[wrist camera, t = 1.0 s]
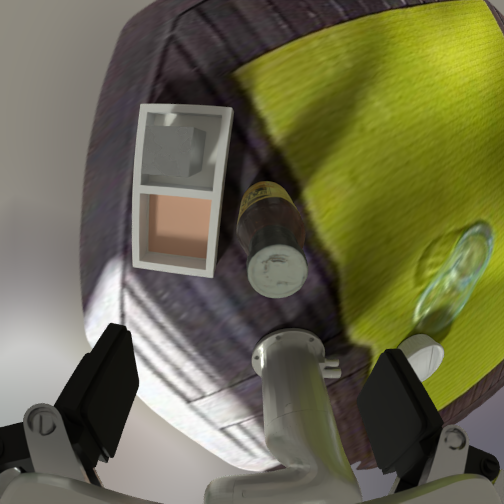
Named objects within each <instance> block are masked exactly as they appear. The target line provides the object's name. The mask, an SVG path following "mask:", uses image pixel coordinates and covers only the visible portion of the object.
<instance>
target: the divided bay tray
mask: <svg viewBox="0 0 504 504" xmlns="http://www.w3.org/2000/svg"><path fill="white" fill-rule="evenodd" d="M233 116H234V111H233V108H230V107H219V106H206V105H187V104H141V106H140V113H139V121H138V129H137V139H136V149H135V161H134V176H133V199H132V255H133V267H137V268H144V269H151V270H158V271H165V272H172V273H179V274H186V275H194V276H202V277H209V278H213V275H214V271H215V268H216V261H217V250H218V240H219V230H220V221H221V211H222V202H223V194H224V185H225V177H226V168H227V160H228V153H229V145H230V138H231V130H232V123H233ZM146 126H178V127H194V128H197V129H200V130H203V131H205V132H206V139H205V147H204V155H203V164H202V171H200V172H198V173H196V174H194V175H192V176H190V177H177V176H164V175H149V174H141V172H142V159H143V147H144V137H145V128H146Z"/></svg>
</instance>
